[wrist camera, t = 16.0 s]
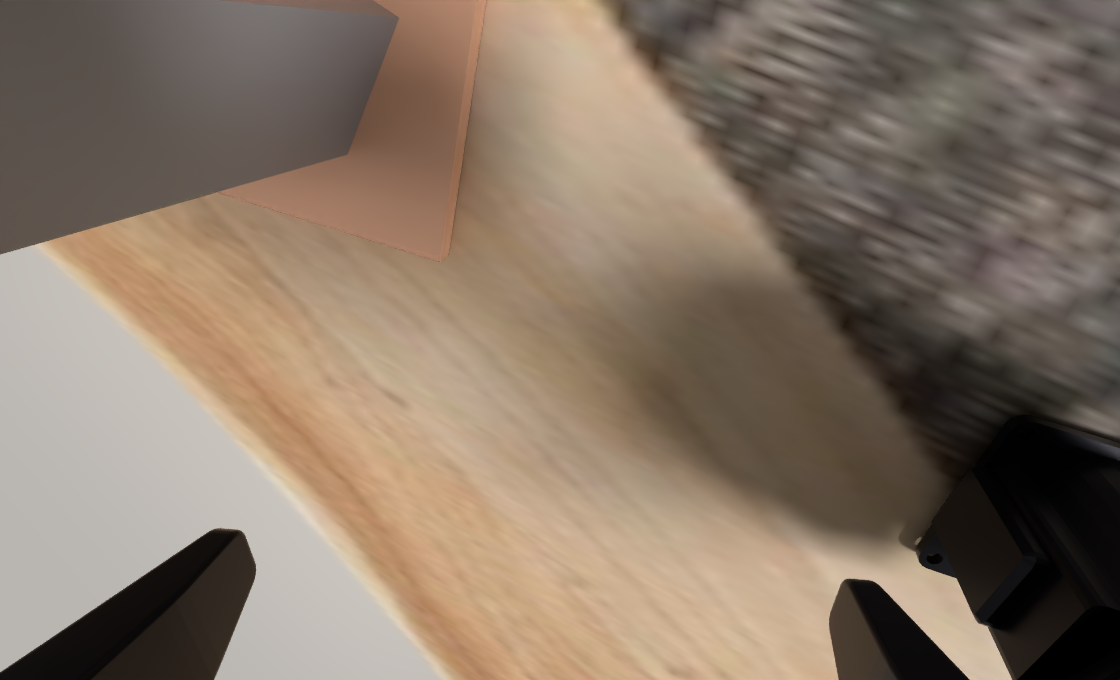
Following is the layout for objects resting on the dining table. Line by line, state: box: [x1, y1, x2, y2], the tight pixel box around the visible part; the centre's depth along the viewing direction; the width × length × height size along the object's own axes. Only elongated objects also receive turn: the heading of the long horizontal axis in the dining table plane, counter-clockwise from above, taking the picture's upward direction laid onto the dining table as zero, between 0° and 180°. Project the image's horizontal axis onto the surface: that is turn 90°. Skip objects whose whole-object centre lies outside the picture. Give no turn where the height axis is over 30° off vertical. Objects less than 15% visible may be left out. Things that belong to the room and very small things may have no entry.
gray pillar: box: [0, 0, 399, 254], centre depth 13 cm, size 4×4×13 cm
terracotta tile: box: [218, 0, 486, 262], centre depth 19 cm, size 10×11×1 cm
